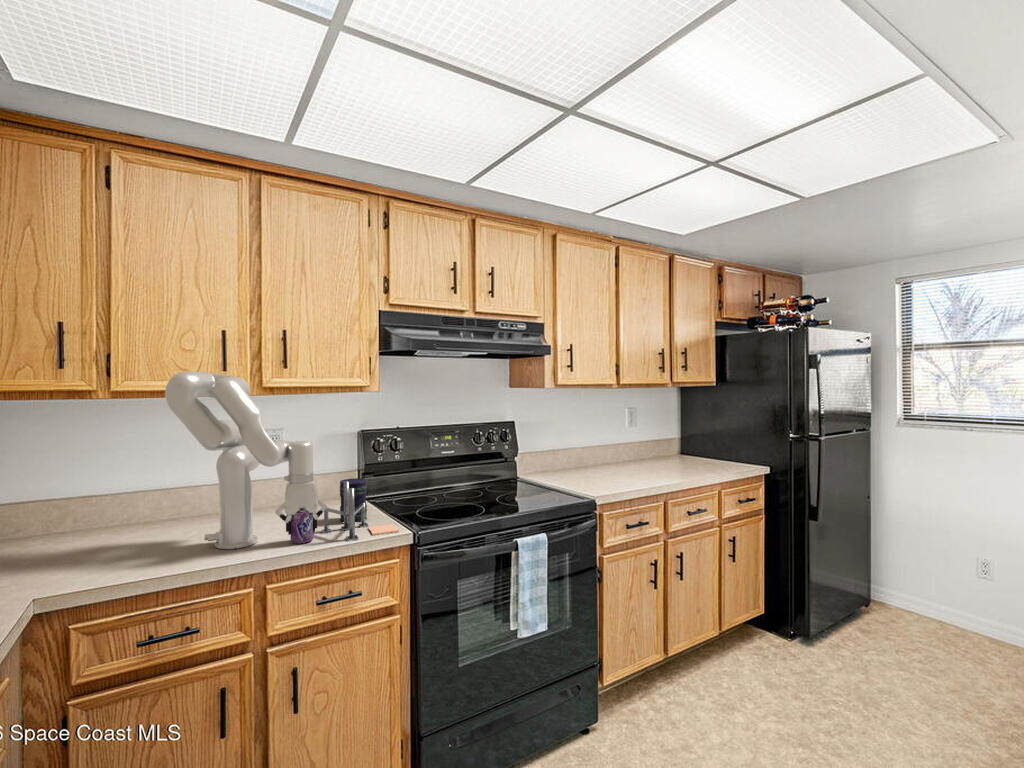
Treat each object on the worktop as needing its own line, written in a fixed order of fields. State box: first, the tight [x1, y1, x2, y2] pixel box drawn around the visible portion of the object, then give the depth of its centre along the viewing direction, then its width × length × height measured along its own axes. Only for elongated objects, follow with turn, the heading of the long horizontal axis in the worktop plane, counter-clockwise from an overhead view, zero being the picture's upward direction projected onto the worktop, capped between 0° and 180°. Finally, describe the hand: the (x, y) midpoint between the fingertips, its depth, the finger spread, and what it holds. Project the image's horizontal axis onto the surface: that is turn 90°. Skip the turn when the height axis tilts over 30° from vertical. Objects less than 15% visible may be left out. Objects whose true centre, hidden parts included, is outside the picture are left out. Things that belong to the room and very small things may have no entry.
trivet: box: [367, 523, 400, 536], centre depth 189 cm, size 9×9×1 cm
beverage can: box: [290, 507, 315, 545], centre depth 176 cm, size 7×7×12 cm
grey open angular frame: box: [321, 481, 369, 542], centre depth 185 cm, size 16×17×17 cm
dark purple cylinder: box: [339, 477, 368, 523], centre depth 203 cm, size 10×10×15 cm
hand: (301, 531), depth 176 cm, fingers closed on beverage can, 6 cm apart
